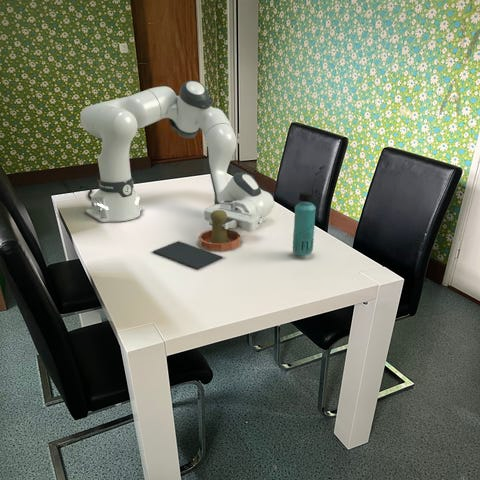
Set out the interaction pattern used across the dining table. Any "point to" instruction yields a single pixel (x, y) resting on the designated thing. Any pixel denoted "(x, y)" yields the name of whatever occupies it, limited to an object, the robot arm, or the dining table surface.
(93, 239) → the dining table surface
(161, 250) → the mat
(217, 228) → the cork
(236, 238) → the orange ring
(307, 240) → the beverage bottle
